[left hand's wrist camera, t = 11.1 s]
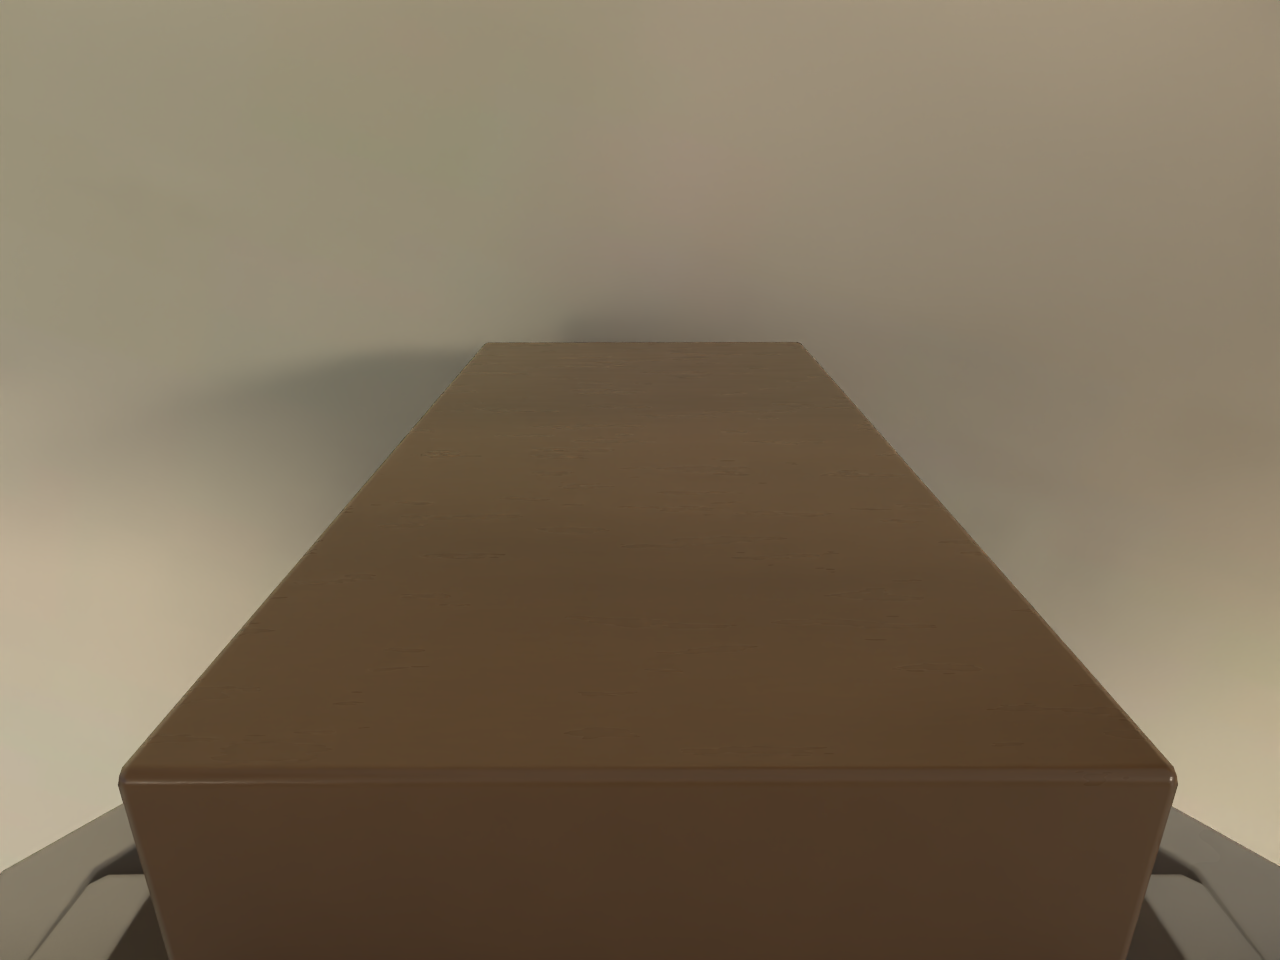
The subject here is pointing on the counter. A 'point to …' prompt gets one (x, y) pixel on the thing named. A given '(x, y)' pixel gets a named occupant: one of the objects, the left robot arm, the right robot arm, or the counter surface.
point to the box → (646, 701)
